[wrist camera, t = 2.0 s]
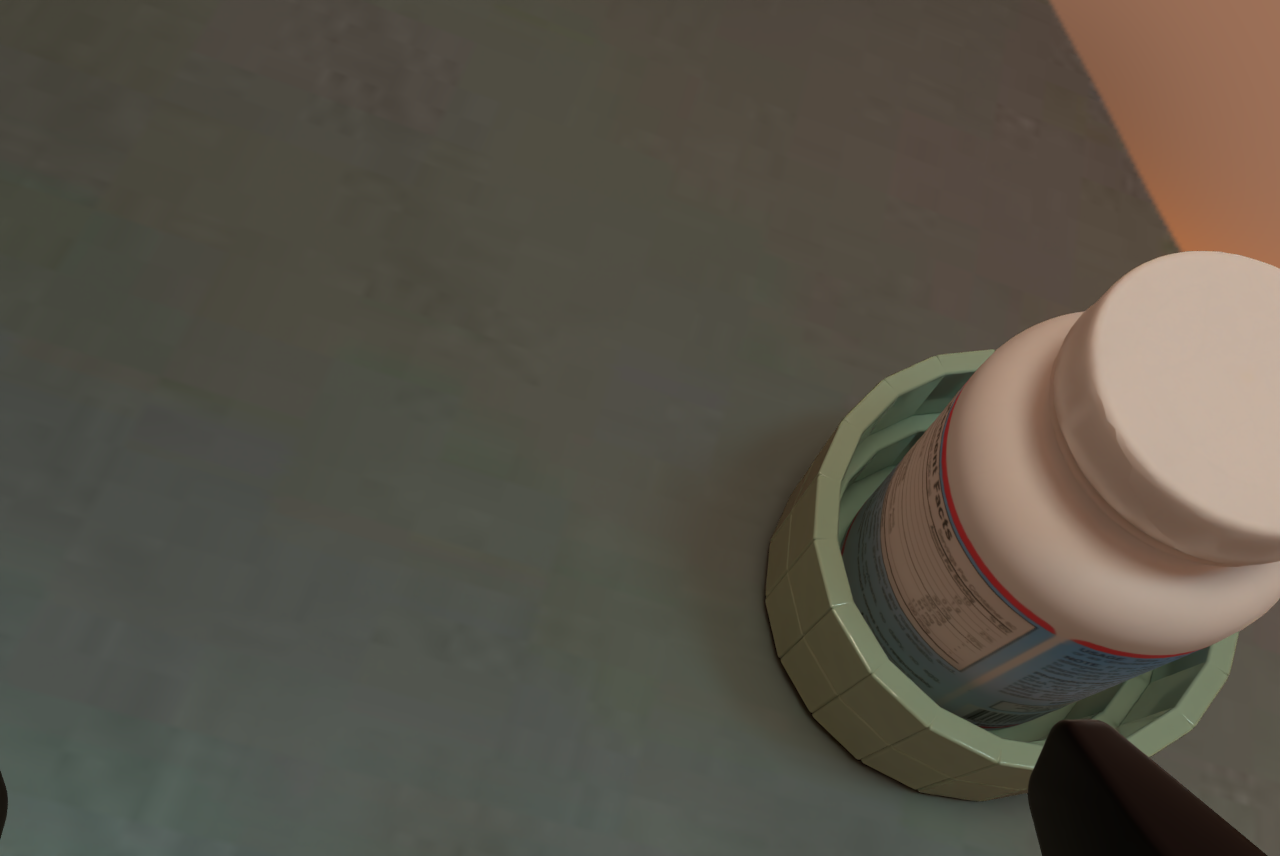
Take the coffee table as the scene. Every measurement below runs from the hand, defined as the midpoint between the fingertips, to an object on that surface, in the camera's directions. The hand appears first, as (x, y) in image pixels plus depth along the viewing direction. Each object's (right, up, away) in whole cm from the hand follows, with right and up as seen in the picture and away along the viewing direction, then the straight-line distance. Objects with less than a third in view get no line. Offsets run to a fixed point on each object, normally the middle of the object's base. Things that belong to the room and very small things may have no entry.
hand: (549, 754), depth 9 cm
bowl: (+8, -1, +17) cm, 18 cm away
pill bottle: (+8, -1, +16) cm, 18 cm away
